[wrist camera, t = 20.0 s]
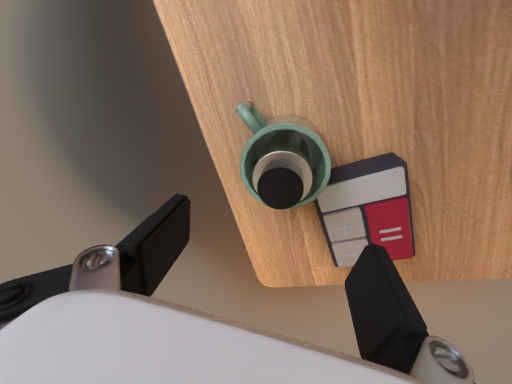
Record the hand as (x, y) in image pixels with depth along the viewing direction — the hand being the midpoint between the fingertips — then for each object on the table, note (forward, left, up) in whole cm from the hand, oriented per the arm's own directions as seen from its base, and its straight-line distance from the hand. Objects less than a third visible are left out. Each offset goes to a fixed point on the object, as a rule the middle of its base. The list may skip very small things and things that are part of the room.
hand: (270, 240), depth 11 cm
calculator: (+14, -2, -20) cm, 25 cm away
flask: (0, 0, -19) cm, 19 cm away
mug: (-1, 0, -20) cm, 20 cm away
